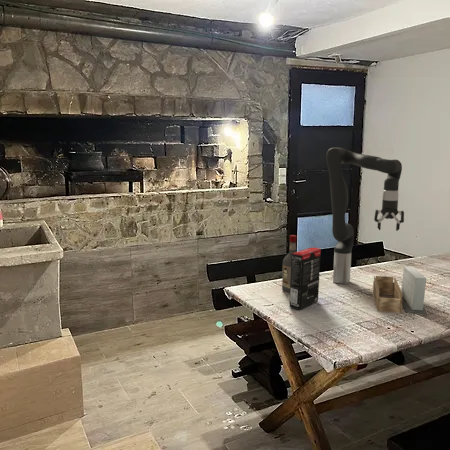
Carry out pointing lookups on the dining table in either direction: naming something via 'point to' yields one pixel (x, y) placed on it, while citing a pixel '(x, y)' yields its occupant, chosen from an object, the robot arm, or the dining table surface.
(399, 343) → the dining table surface
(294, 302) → the graphics card box
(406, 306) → the mat
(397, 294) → the carton
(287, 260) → the liquor
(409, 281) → the skincare box
